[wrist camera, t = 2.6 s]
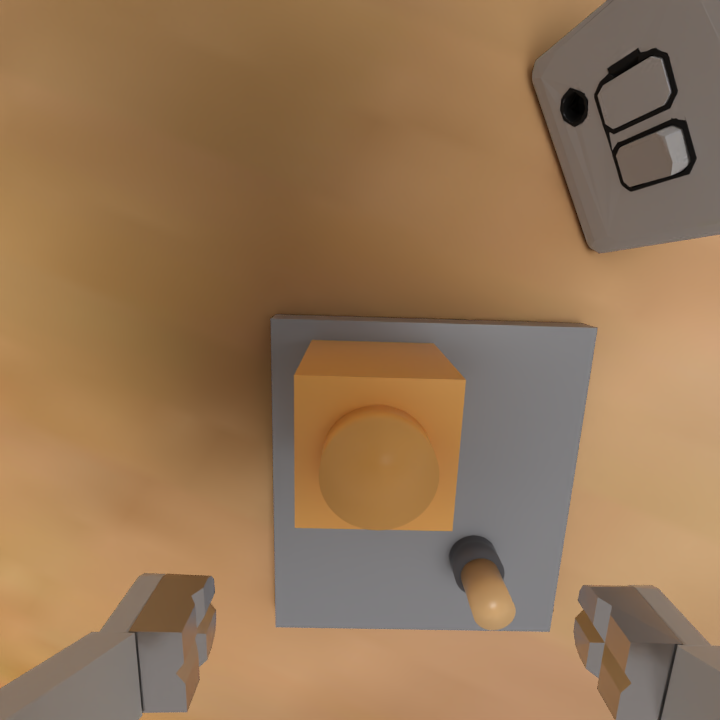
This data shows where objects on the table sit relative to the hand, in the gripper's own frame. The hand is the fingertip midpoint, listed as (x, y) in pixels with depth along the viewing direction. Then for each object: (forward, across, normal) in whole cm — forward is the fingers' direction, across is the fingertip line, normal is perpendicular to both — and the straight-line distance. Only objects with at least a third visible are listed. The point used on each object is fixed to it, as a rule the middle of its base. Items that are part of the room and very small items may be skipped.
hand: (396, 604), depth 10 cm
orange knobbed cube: (+13, 0, -1) cm, 13 cm away
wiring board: (+15, -3, +4) cm, 16 cm away
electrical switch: (+15, -11, -14) cm, 23 cm away
